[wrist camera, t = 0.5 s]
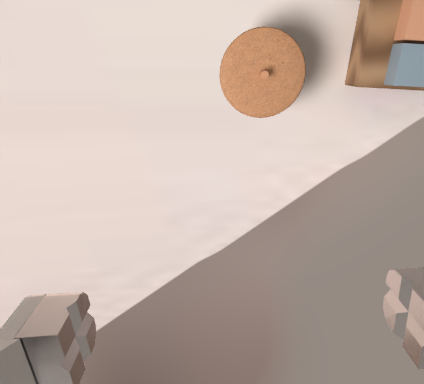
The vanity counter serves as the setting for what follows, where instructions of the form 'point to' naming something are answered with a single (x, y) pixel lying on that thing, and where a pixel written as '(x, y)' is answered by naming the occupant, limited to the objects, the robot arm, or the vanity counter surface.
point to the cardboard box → (374, 44)
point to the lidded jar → (262, 72)
